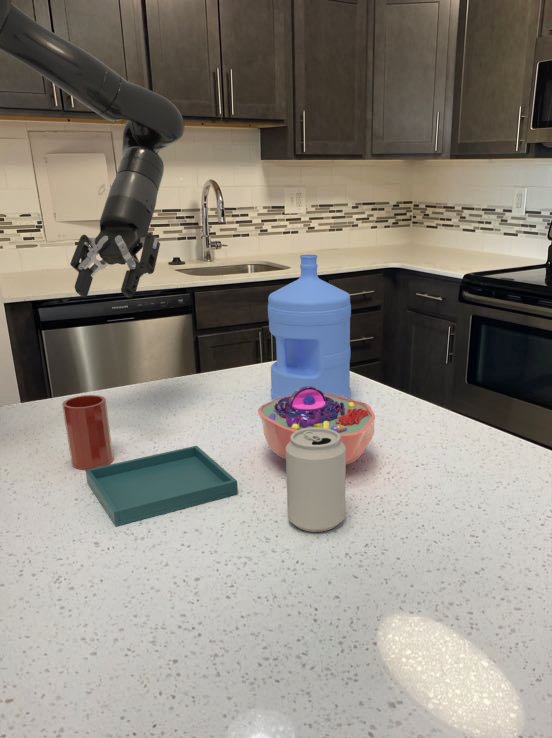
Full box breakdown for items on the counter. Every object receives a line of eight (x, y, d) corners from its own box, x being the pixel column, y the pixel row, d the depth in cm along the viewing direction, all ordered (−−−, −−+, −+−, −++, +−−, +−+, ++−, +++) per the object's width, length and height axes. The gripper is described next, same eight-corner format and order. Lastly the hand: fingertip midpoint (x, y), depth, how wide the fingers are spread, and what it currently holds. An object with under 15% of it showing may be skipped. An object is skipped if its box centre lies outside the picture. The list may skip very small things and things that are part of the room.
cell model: (291, 498, 92) (289, 422, 88) (246, 447, 109) (243, 381, 105) (397, 476, 98) (400, 404, 94) (339, 431, 115) (339, 369, 111)
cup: (77, 473, 100) (67, 410, 97) (68, 459, 105) (58, 399, 102) (117, 464, 103) (110, 403, 100) (107, 450, 108) (99, 392, 105)
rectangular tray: (115, 526, 85) (113, 512, 84) (87, 482, 97) (85, 469, 96) (238, 494, 93) (237, 480, 93) (197, 457, 105) (196, 445, 105)
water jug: (320, 384, 141) (319, 249, 131) (366, 403, 129) (368, 256, 119) (256, 397, 133) (250, 254, 123) (298, 419, 121) (295, 263, 111)
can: (317, 541, 81) (317, 451, 77) (275, 521, 86) (272, 435, 82) (357, 519, 86) (358, 433, 82) (314, 501, 91) (314, 419, 87)
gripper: (80, 195, 108) (50, 282, 103) (155, 191, 103) (128, 282, 99) (106, 223, 115) (80, 306, 110) (178, 220, 110) (154, 307, 105)
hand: (103, 294), depth 104 cm, fingers open, 8 cm apart
